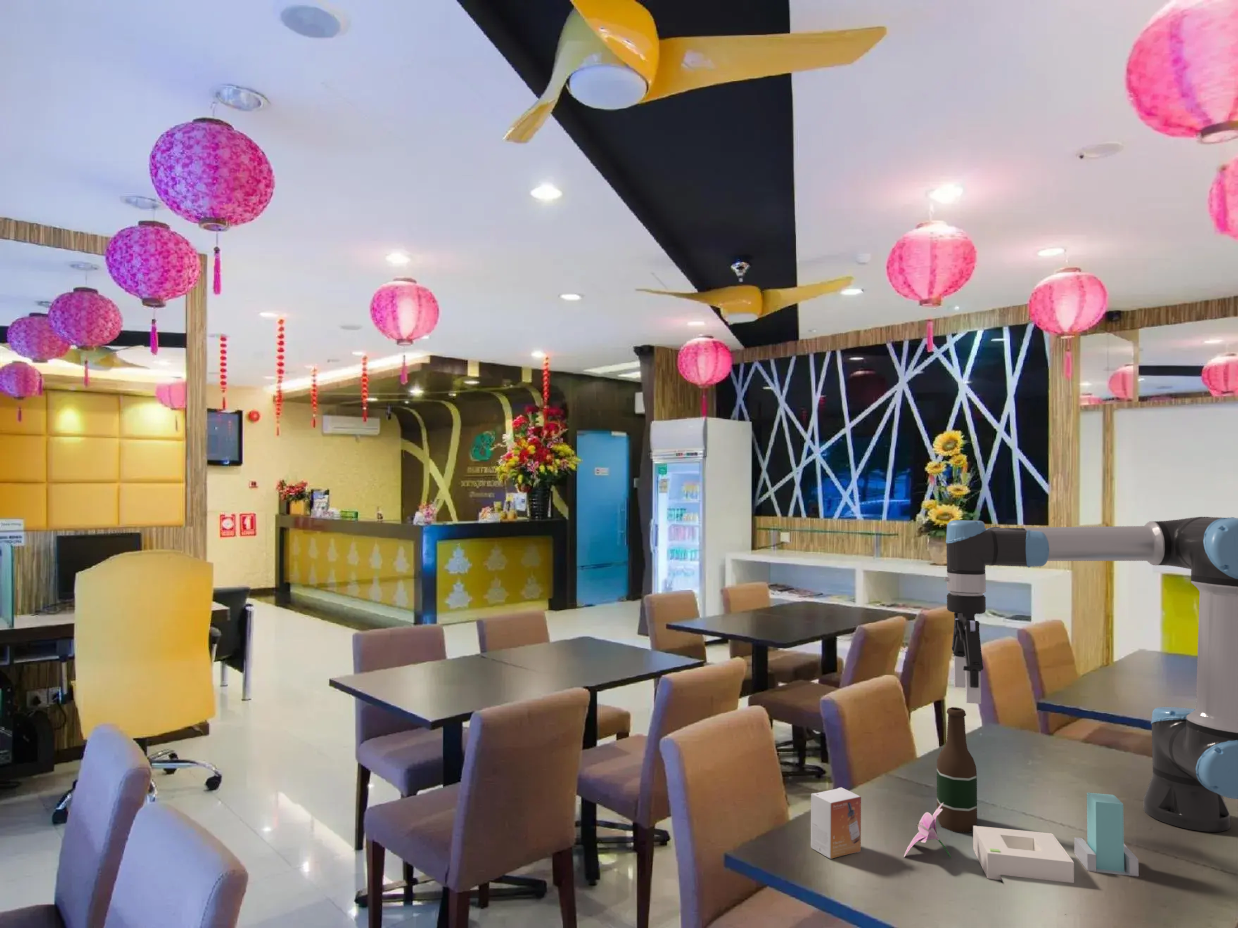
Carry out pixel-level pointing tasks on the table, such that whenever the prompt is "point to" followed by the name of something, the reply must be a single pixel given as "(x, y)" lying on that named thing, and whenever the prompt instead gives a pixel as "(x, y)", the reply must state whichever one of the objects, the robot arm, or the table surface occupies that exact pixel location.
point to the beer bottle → (956, 778)
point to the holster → (1089, 859)
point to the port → (1021, 854)
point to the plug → (1106, 830)
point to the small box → (836, 822)
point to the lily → (927, 829)
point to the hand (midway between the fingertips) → (967, 694)
